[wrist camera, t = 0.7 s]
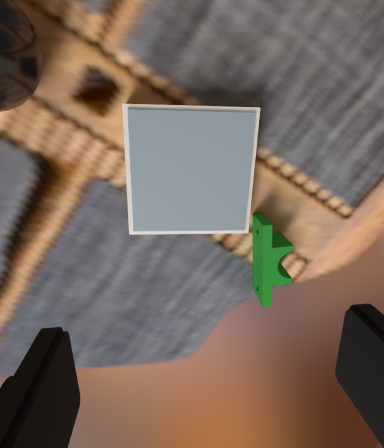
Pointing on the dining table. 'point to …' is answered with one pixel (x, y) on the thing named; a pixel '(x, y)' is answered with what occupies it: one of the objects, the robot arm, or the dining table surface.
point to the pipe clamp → (268, 258)
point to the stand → (189, 168)
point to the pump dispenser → (17, 56)
